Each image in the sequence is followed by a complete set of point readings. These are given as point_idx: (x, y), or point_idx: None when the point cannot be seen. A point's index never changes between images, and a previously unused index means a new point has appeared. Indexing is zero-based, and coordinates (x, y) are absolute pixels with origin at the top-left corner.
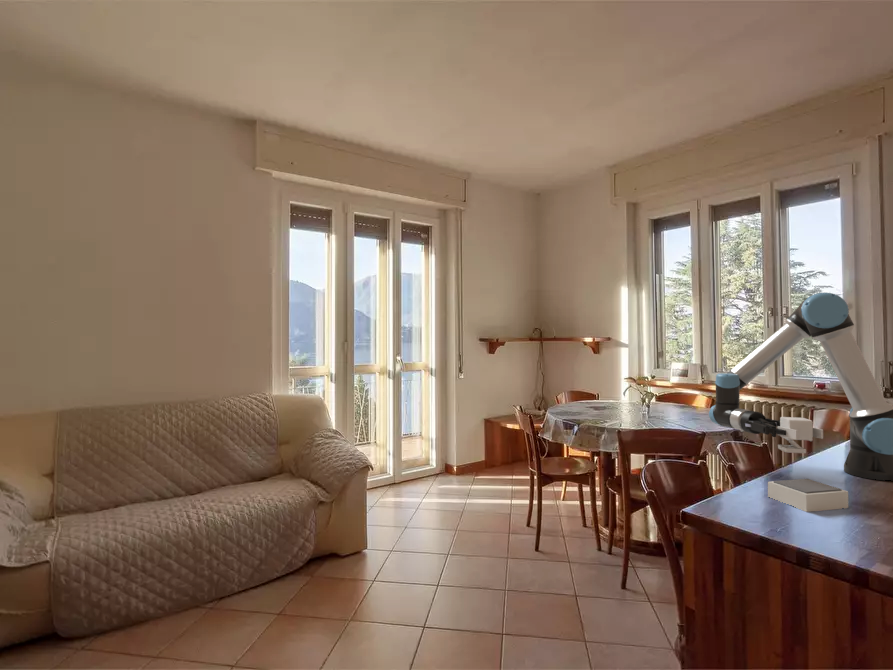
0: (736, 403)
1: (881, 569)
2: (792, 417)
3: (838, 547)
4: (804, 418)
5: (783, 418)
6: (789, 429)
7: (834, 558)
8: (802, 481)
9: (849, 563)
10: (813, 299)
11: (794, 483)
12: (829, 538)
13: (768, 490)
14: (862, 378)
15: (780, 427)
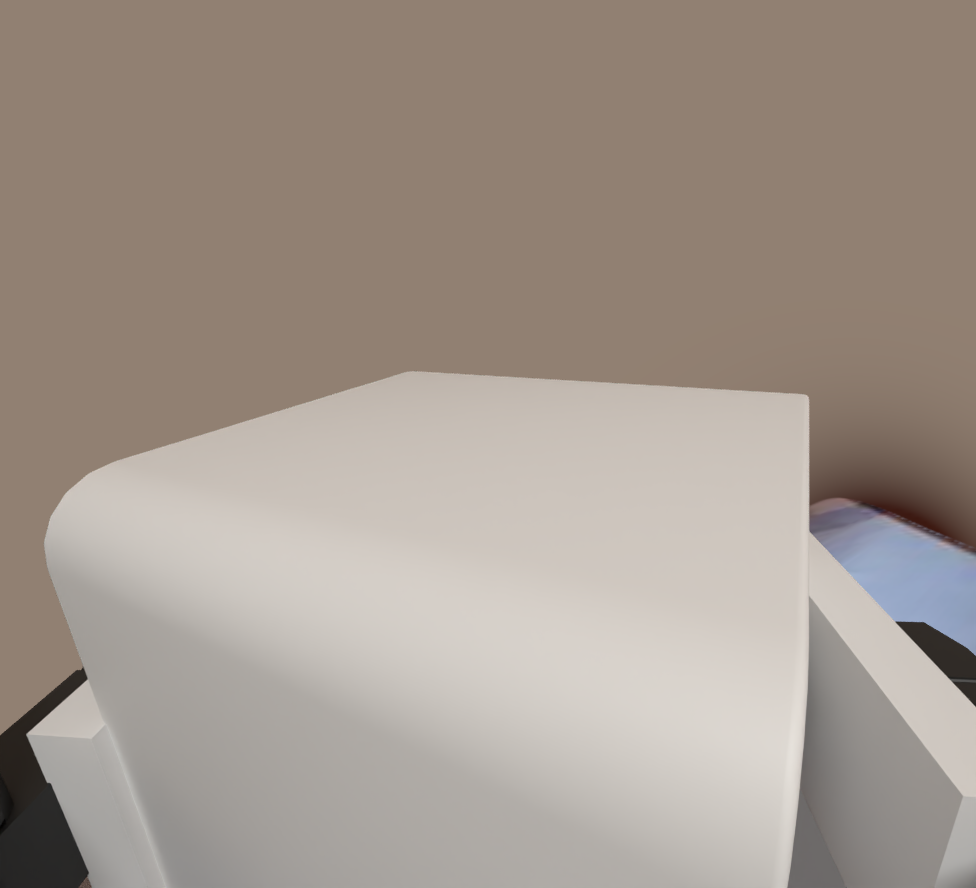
0: None
1: (828, 502)
2: (369, 499)
3: (870, 555)
4: (266, 423)
5: (807, 532)
6: (812, 547)
7: (917, 531)
8: None
9: (889, 518)
10: None
11: (799, 853)
12: (865, 586)
13: None
14: None
15: (959, 696)
